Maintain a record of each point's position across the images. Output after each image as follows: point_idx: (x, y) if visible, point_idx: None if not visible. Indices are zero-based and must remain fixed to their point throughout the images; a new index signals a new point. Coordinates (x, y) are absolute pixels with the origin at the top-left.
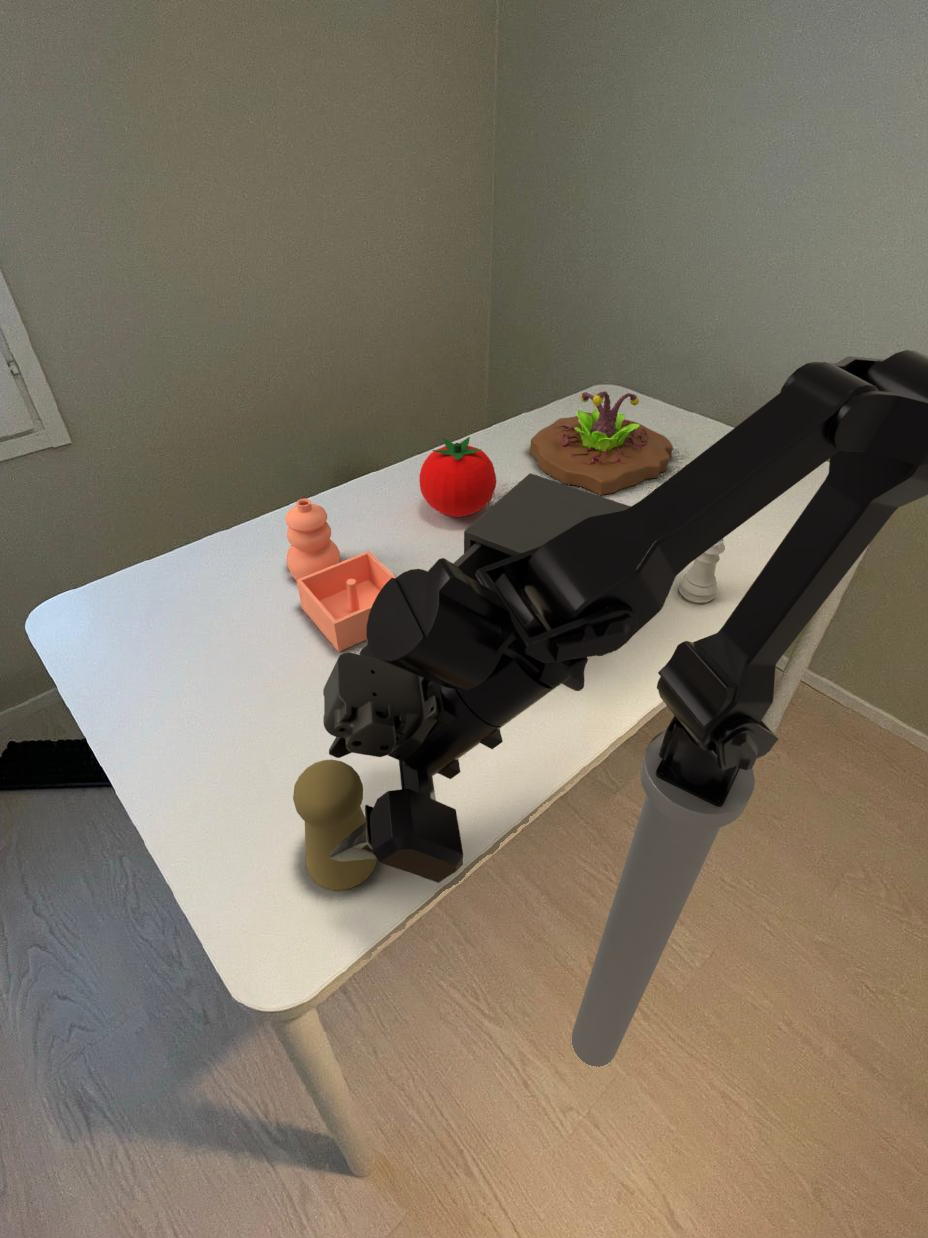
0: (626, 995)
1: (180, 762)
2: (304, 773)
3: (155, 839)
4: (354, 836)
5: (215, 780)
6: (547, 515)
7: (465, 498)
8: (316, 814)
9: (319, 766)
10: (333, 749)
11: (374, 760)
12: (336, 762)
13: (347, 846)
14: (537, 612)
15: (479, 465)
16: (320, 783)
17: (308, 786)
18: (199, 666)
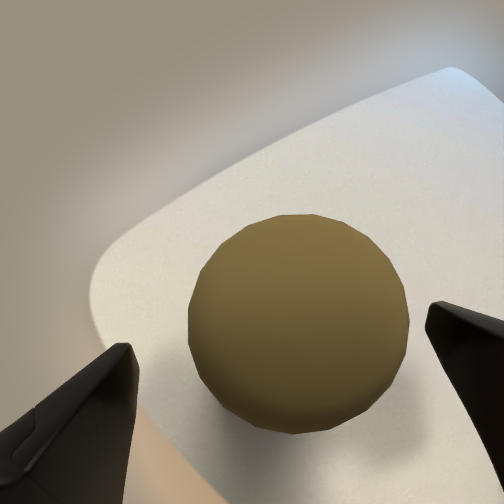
0: None
1: (387, 142)
2: (343, 229)
3: (293, 134)
4: (48, 419)
5: (374, 175)
6: None
7: None
8: (194, 291)
9: (375, 273)
10: (443, 312)
11: (432, 377)
12: (397, 333)
13: (59, 391)
14: None
15: None
16: (298, 286)
17: (288, 246)
18: (483, 153)
